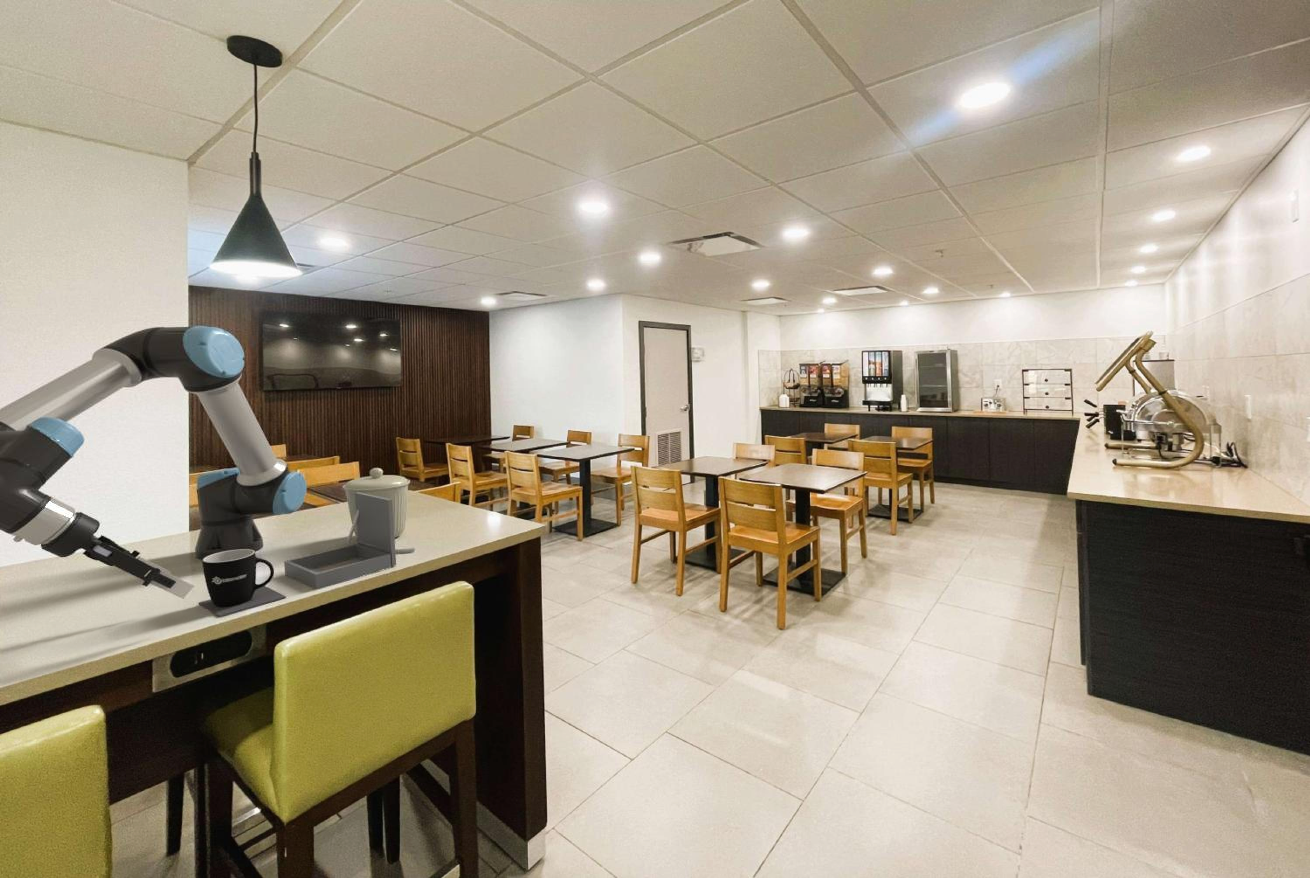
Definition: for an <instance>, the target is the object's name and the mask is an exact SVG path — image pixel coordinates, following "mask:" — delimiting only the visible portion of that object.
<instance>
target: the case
mask: <svg viewBox="0 0 1310 878" xmlns="http://www.w3.org/2000/svg"><path fill="white" fill-rule="evenodd" d="M355 506H356V515H355V519H354V522H353V525H352V524H351V529H350V532H349V533H348V537H347V540H346V543H345V546H342V547H341V546H340V547H337V548H332V549H329V550H325V551H321V552H317V553H312V554H309V555H305V556H299V557H296V558H292V559H288V560H284V561H283V564H284V565H283V566H284V574H285V575H284V576H286V577H289V578H290V579H293V580H294V581H298V582H299V583H302V584H304V585H306V586H308V587H311V588H313V589H315V590H321V589H324V588H326V587H330V586H334V585H336V584H340V583H343V582H347V581H350V580H354V579H357V578H361V577H364V576H363V575H365V576H367V575H366V574H368V575H370V574H369V573H371V574H374V573H373V572H375V573H377V572H376V571H378V572H380V571H379V570H382V569H385V570H387V569H386V568H388V569H390V568H389V567H391V568H392V567H393V566H395V567H396V565H397V558H396V555H397V554H396V553H395V550H396V539H395V538H396V537H395V538H394V522H393V506H392V499H388V498H383V497H379V496H374V495H369V494H365V493H360V492H356V493H355ZM356 523H357V534H358V538H357V542H356V543H353V544H351V541H352V539H353V535H354V529H355V526H356ZM356 558H357V559H360V560H361V561H357V562H353V563H349V564H346V565H342V566H337V567H334V568H332V569H327V570H324V571H320V572H319V571H318V572H317V571H314V569H318V568H322V567H325V566H330V565H333V564H337V563H340V562H344V561H348V560H352V559H356ZM382 571H383V570H382ZM360 576H361V577H360Z"/></svg>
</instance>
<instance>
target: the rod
mask: <svg viewBox="0 0 1310 878" xmlns="http://www.w3.org/2000/svg"><path fill="white" fill-rule="evenodd" d="M415 549H416V548H415V547H411V548H399V549H398V548H397V549H395V553H400V554H405V553H404V552H414V551H415V552H416V550H415ZM415 552H414V553H415Z"/></svg>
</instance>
